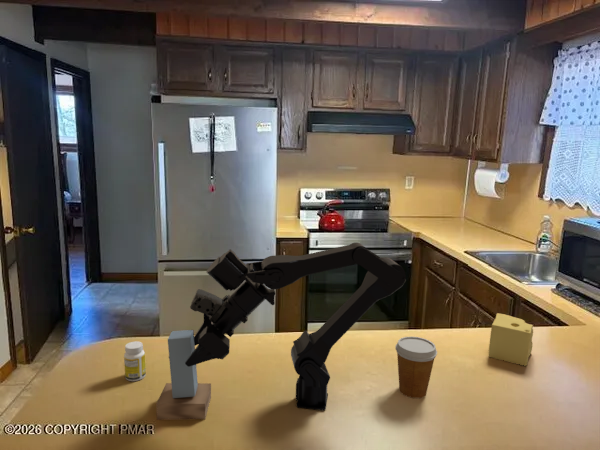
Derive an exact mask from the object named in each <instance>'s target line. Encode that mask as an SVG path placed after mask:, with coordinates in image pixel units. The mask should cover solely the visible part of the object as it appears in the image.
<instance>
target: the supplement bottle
mask: <svg viewBox="0 0 600 450" xmlns="http://www.w3.org/2000/svg"><path fill="white" fill-rule="evenodd" d="M123 360H124V377H125V380H126V381H129V382H137V381H141V380H142V379H143V380H144V378H145V377H146V373H147V372H146V369H147V368H146V352H145V350H144V345H143V342H141V341H139V340H138V341H130V342H128V343H126V344H125V346H124V355H123Z"/></svg>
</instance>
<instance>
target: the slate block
mask: <svg viewBox="0 0 600 450" xmlns="http://www.w3.org/2000/svg"><path fill="white" fill-rule="evenodd" d="M194 333H195V332H194V329H188V330H187V329H184V330H183V329H182V330H173V331H171V333H170V334H169V336H168V338H167V345H168V347H167V348H168V359H169V370H170V371H169V372H170V383H171V384H172V396H173V398H182V397H194V396H195V394H196V391H197V387H198V374H197V373H198V371H197V364H196V365H193V366H190V367H188V366H187V365H186V364H185V362H186V361H187V359H188V358H189V357H190V355H191V354H192V353H193V351H194V350H195V349H196V346H195V343H194V336H195V334H194Z"/></svg>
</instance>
